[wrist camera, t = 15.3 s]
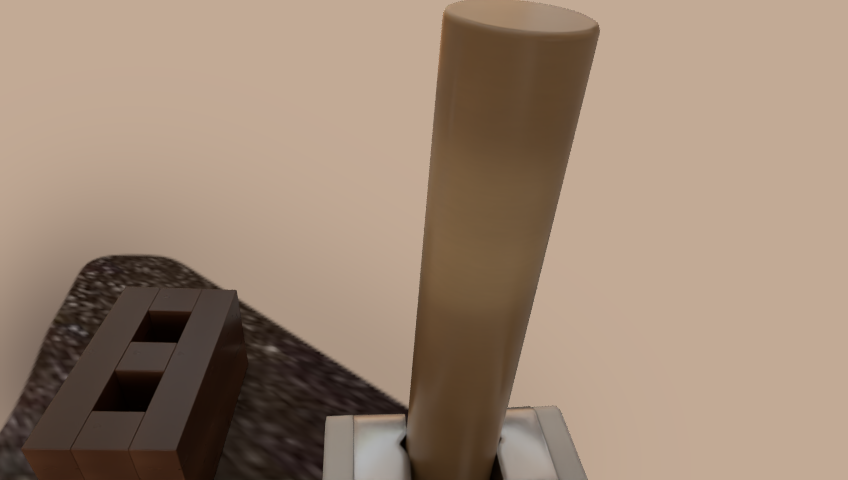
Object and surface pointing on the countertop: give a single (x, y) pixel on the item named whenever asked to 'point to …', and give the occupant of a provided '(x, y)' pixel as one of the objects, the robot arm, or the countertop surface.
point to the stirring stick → (489, 218)
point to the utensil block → (147, 391)
